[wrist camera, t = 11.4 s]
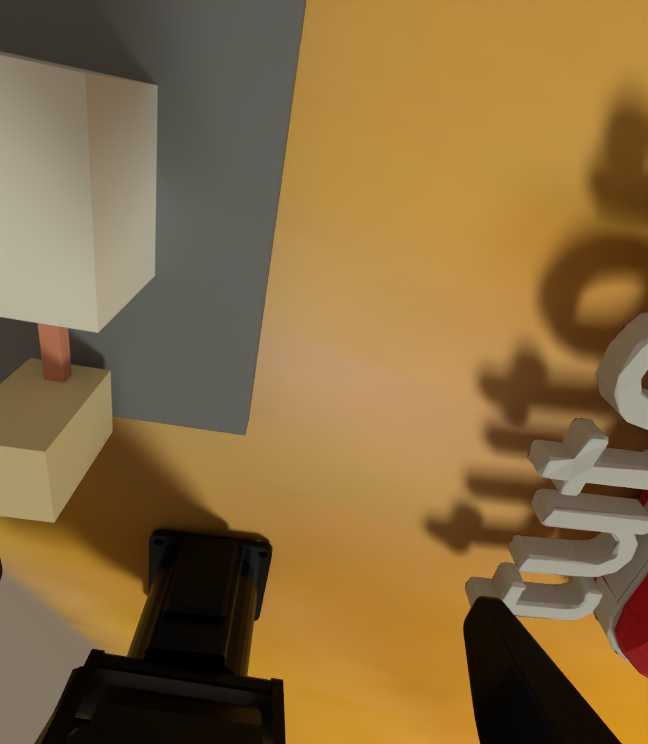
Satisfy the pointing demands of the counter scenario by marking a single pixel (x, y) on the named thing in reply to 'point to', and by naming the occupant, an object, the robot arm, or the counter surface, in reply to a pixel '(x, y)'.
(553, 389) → the counter surface
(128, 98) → the rod-linked cube pair
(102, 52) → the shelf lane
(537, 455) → the word lettering
